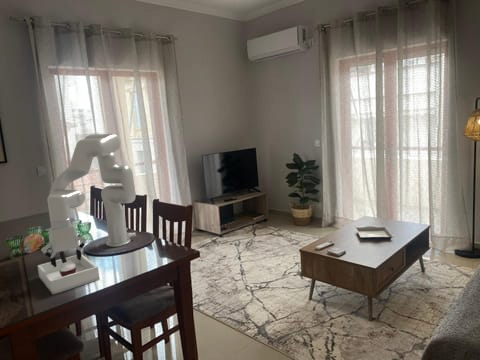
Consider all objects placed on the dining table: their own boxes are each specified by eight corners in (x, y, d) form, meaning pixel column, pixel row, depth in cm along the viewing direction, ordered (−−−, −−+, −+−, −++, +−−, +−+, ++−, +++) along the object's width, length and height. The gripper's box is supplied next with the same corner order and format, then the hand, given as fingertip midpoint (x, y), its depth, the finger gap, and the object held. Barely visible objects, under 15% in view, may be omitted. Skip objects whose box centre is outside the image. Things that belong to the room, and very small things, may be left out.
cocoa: (77, 279, 149) (74, 252, 147) (60, 282, 146) (57, 254, 144) (75, 270, 157) (73, 244, 155) (59, 273, 155) (57, 246, 152)
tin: (25, 255, 182) (22, 239, 181) (20, 255, 183) (17, 239, 181) (46, 245, 197) (44, 230, 195) (41, 245, 197) (39, 230, 196)
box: (82, 264, 166) (81, 253, 165) (99, 279, 149) (98, 266, 148) (39, 277, 154) (37, 265, 153) (52, 294, 138) (50, 281, 137)
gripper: (80, 217, 156) (85, 254, 159) (35, 226, 145) (42, 266, 148) (85, 220, 150) (91, 258, 153) (40, 230, 139) (46, 271, 142)
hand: (67, 262), depth 151 cm, fingers open, 9 cm apart
